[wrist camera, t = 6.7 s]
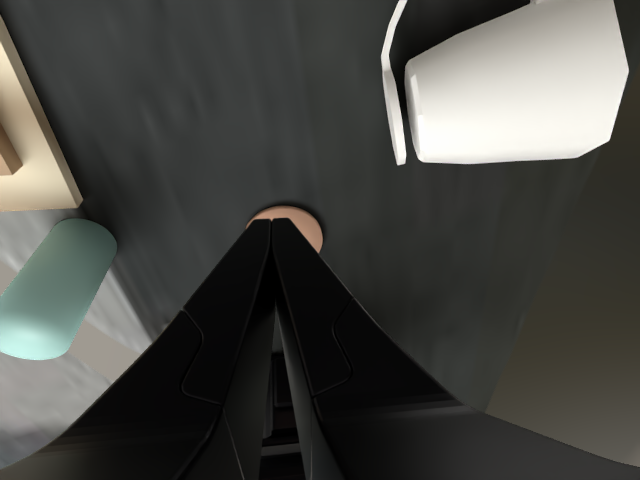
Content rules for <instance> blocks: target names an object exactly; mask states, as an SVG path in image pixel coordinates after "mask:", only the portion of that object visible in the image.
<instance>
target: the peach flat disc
mask: <svg viewBox="0 0 640 480" xmlns="http://www.w3.org/2000/svg"><path fill="white" fill-rule="evenodd" d="M286 217H287V218H290V219H291V220H292V222H293V223H294V224H295V225H296V227H297V228H298V229H299V230H300V231H301V233H302V234H303V235H304V236H305V237H306V239H307V240H308V241H309V242H310V244H311V245H312V246H313V247H314V248H315V250H316V251H317V252H318V253H319V252H320V249H321V247H322V241H323V238H322V231H321V228H320V225H319V223H318V222H317V220H316V219H315V218H314V217H313V216H312V215H311V214H310V213H308V212H307V211H305V210H303V209H300V208H297V207H293V206H274V207H270V208H267V209H265V210H262V211H260V212H259V213H257V214H256V215H255V216H254V217H253V218H252V219H251V220H250V221H249V222H248V224H247V226H246V228H247V227H248V226H249V224H250V223H251V222H252V221H253V220H254V219H266V218H269V219H271V221H272V219H274V218H286ZM246 228H245V229H246Z"/></svg>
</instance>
